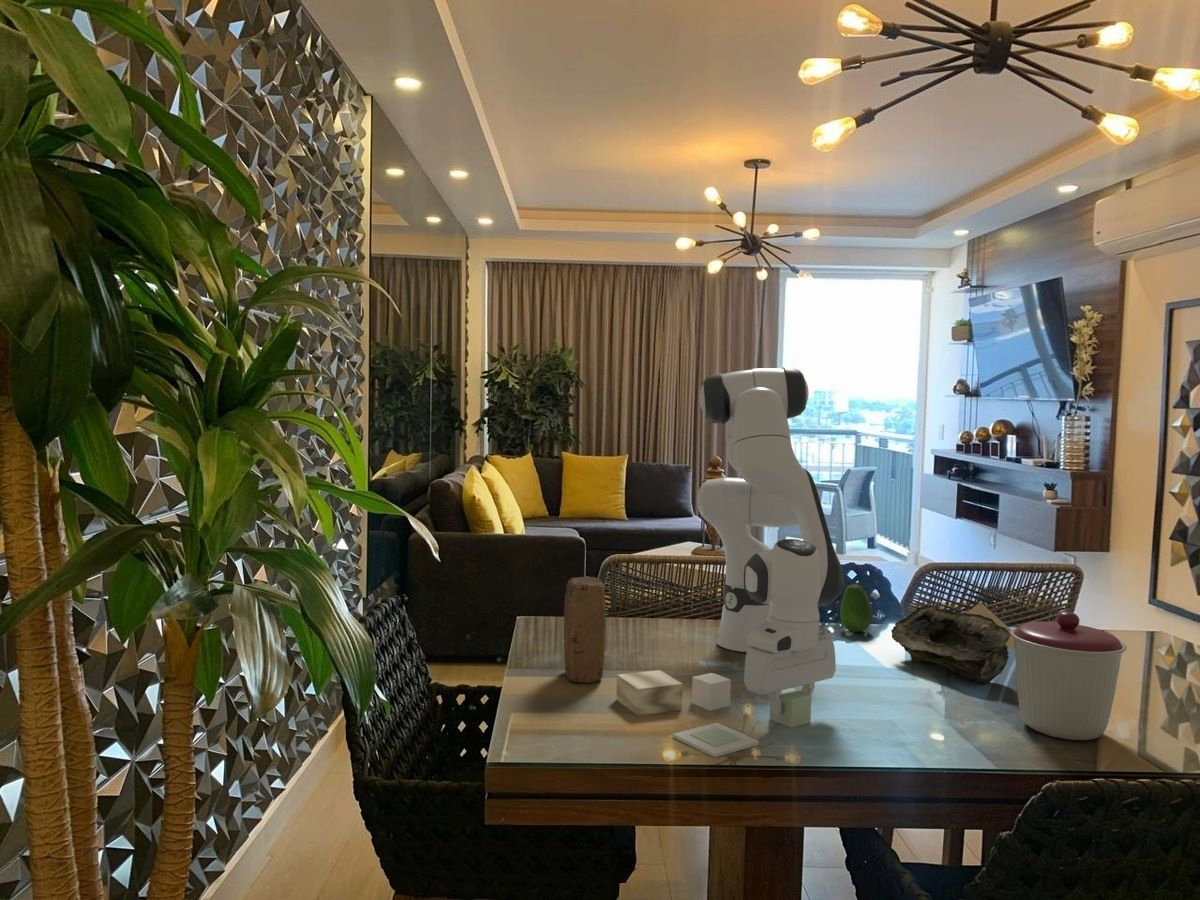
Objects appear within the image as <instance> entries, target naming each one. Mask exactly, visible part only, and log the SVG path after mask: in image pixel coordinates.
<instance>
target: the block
mask: <svg viewBox="0 0 1200 900" xmlns="http://www.w3.org/2000/svg"><path fill="white" fill-rule="evenodd" d="M605 595H606V593H605V584H604V583H603V582H602V580H601V579H600V578H597V577H595V576H579V577H572V578H570V579H569V580H568V581H567V584H566V589H565V595H564V607H563V609H564V610H563V611H564V612H563V652H564V653H563V655H564V665H565V667H564V673H565V677H566V678H567V679H568V681H570V682H574V683H581V684H589V683H590V684H591V683H595V682H598V681H601V680H602V678H603V677H604V669H605V668H604V666H605V653H606V652H605V651H606V647H605V646H606V645H605V644H606V596H605Z"/></svg>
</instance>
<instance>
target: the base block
mask: <svg viewBox="0 0 1200 900" xmlns="http://www.w3.org/2000/svg"><path fill="white" fill-rule="evenodd" d="M683 685H684V684H683V683H682V682H680V681H679V680H677V679H676V678H674V677H672V676H670V675H669V674H667V673H665V672H664V671H662V670H661V669H658V670H647V671H639V672H629V673H622V674H621V673H620V674H616V692H615V693H616V695H615V697H616V698H615V699H616V701H617V702H619V703H621V704H622V705H623V706H624V707H626V708H627V709H628V710H629V711H631V712H632V713H634V714H635V715H636V716H643V715H652V714H658V713H666V712H673V711H680V710H682V709H683Z"/></svg>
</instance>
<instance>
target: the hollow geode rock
mask: <svg viewBox="0 0 1200 900" xmlns="http://www.w3.org/2000/svg"><path fill="white" fill-rule="evenodd" d="M890 631H891V638H892V640H893V641H895V643H898V644H899V645H900V646H901V647H903V648H904V651H906V652H907V653H908V654H909V655H910V658H911V660H910V662H912V663H920V662H930V663H934V664H937V665H941V666H945V667H946V668H948V669H949V670H950V671H951V672H952V673H954V674H958V675H961V676H963V677H965V678H968V679H970V680H971V681H975V682H978V684H979V683H980V684H983V685H988V684H990V683H991V682H992V681H993V680H994V679H995V678H997V676H999V675H1000V674H1002V672H1003V670H1005V669H1006V665H1007V663H1008V659H1009V656H1010V655H1009V651H1008V650H1007V648H1008V646H1006V642H1007V641H1008V640H1009V637H1010V636H1011V635H1010V633H1009V632H1008V630H1006V629H1005V628H1004V627H1001V626H998V625H997V624H996V623H995V622H994V621H993V619H990V618H988V617H983V616H982V615H975V614H967V612H963V613H961V612H954V611H953V610H949V609H945V608H939V606H937V605H936V604H935V605H934V604H932V605H931V604H930V605H923V606H921V607H917V609H916V610H915V611H913V612H912V613H910V614H909V615H908V616H907V617H905V618H903V619H900V620H898V621H897V622H895V623H894V626H893V628H892V629H891V630H890Z"/></svg>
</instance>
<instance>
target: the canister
mask: <svg viewBox="0 0 1200 900" xmlns="http://www.w3.org/2000/svg"><path fill="white" fill-rule="evenodd" d="M1080 622H1081V621H1080V618H1079V616H1078V615H1077V614H1076V613H1075V612H1072V611H1061V612H1060V613H1058V614H1057V616H1056V621H1031V622H1026V623H1023V624H1021V625H1018V627H1014V628H1011V631H1010V634H1011V636H1012V637H1013V638H1014V643H1015V647H1014V658H1015V659H1014V661H1015V673H1016V687H1017V699H1018V707H1019V712H1020V716H1021V718H1022V720H1023V722H1024V723H1025V724H1026V725H1027V726H1028V727H1029V728H1031V730H1032V729H1033V730H1034V731H1036V732H1038V733H1040V734H1043V735H1046V736H1049V737H1053V738H1058V739H1063V740H1068V741H1090V740H1094V739H1097V738H1099V737H1101V736H1102V735H1103V734H1104V733H1105V731H1106V730H1107V728H1108V725H1109V721H1110V717H1111V713H1112V709H1113V705H1114V698H1115V693H1116V688H1117V682H1118V678H1119V671H1120V667H1121V661H1122V656H1123V655H1122V654H1123V653H1125V652H1126V651H1127V648H1128V646H1127V644H1126V643H1125V642H1124V641H1121V640H1120V639H1119V638H1118V637H1116V636H1115V635H1114V634H1111V633H1109V632H1107V631H1104V630H1102V629H1098V628H1096V627H1091V626H1087V625H1081V624H1080Z"/></svg>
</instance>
